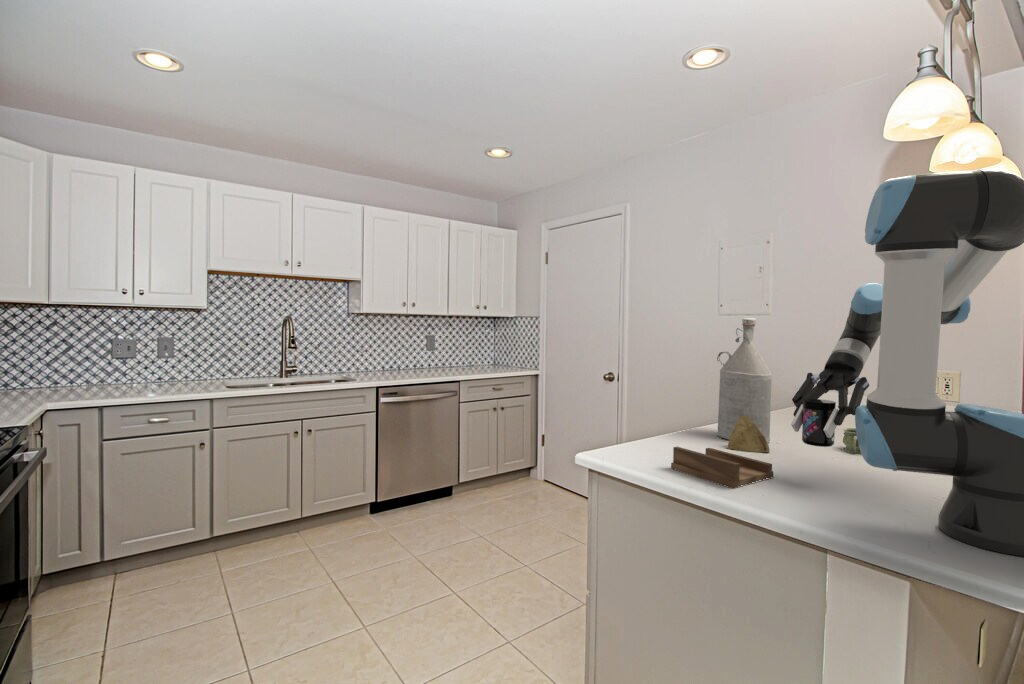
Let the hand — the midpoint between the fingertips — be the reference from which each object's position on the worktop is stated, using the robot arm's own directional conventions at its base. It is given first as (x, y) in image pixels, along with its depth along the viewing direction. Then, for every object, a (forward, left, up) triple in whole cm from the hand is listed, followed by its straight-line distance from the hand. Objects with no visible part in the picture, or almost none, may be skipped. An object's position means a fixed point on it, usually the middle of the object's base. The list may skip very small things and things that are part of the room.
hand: (810, 430), depth 118 cm
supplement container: (+3, -2, -4) cm, 5 cm away
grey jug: (+42, +17, -13) cm, 47 cm away
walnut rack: (-1, +19, -13) cm, 23 cm away
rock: (+27, +14, -13) cm, 33 cm away
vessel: (+42, -15, -13) cm, 46 cm away
